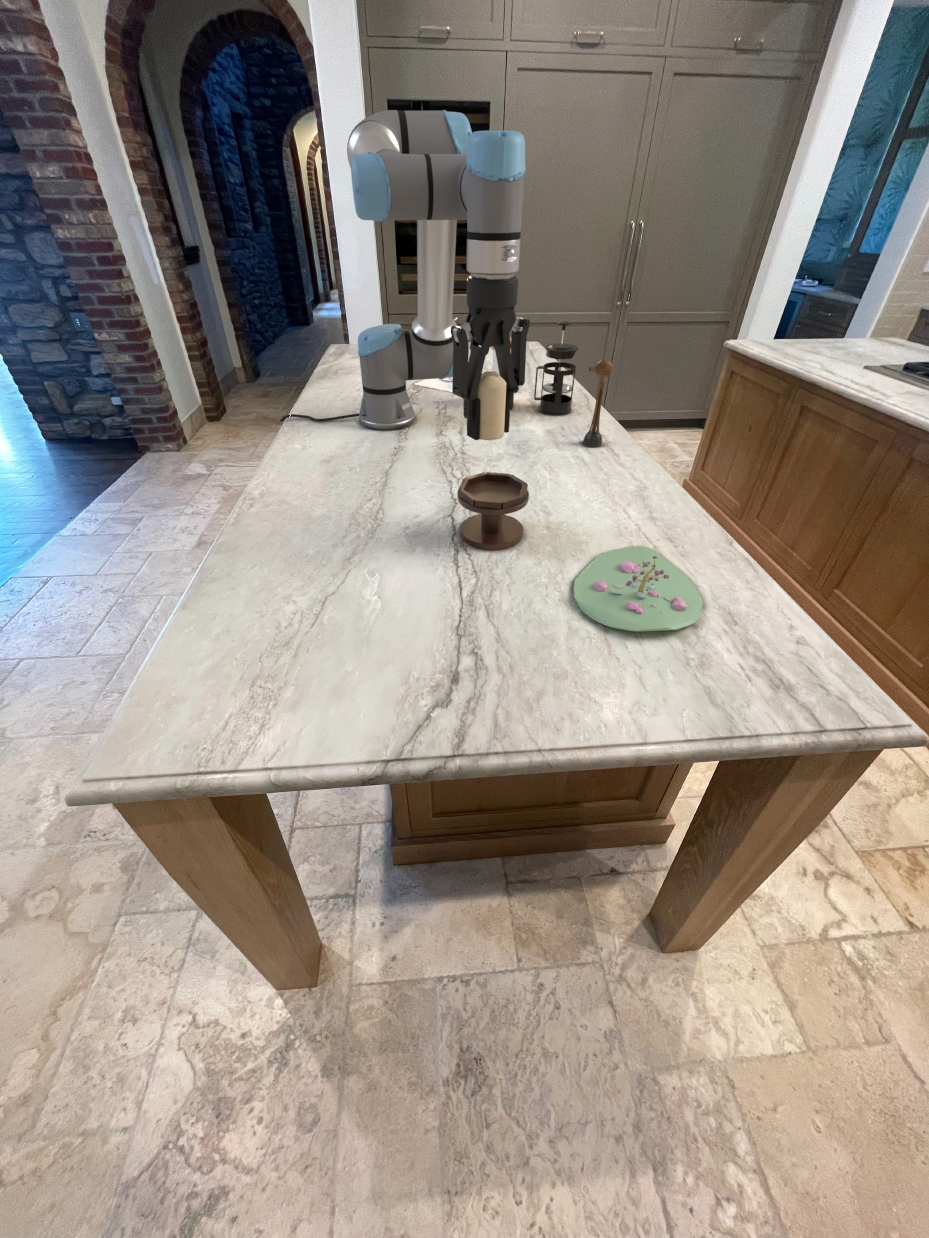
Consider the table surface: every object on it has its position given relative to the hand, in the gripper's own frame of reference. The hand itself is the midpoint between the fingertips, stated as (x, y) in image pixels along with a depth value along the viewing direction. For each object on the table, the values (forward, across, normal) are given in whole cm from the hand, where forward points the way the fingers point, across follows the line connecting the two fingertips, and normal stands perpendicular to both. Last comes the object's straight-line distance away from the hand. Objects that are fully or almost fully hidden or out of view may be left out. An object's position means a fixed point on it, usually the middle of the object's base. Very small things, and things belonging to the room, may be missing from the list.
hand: (488, 433), depth 92 cm
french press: (+19, +56, +44) cm, 74 cm away
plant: (+19, +9, -30) cm, 36 cm away
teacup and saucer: (+19, +48, +84) cm, 99 cm away
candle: (0, 0, 0) cm, 0 cm away
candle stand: (+19, 0, -2) cm, 19 cm away
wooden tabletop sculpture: (+19, +47, +20) cm, 55 cm away
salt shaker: (+19, +46, +57) cm, 76 cm away
